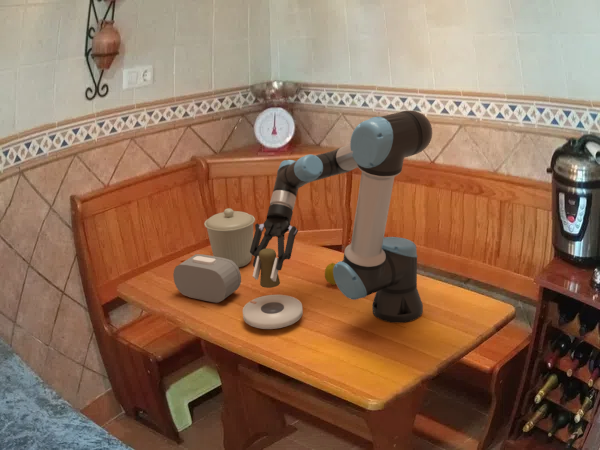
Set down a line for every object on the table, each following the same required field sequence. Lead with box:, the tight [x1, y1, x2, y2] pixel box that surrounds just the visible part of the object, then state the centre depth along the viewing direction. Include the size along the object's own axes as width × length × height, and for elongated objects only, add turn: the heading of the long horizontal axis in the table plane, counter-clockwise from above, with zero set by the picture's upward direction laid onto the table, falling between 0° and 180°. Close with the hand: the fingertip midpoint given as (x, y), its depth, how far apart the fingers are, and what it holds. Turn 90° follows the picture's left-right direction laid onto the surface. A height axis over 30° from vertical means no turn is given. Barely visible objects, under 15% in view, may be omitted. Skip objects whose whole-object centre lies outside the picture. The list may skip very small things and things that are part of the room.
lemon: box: [324, 262, 337, 286], centre depth 225 cm, size 6×6×8 cm
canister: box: [203, 207, 256, 269], centre depth 244 cm, size 18×18×21 cm
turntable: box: [242, 294, 304, 330], centre depth 205 cm, size 18×18×2 cm
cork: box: [259, 247, 281, 289], centre depth 203 cm, size 6×6×11 cm
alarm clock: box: [173, 253, 242, 304], centre depth 222 cm, size 21×10×13 cm, turn 61°
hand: (264, 278), depth 200 cm, fingers closed on cork, 5 cm apart
